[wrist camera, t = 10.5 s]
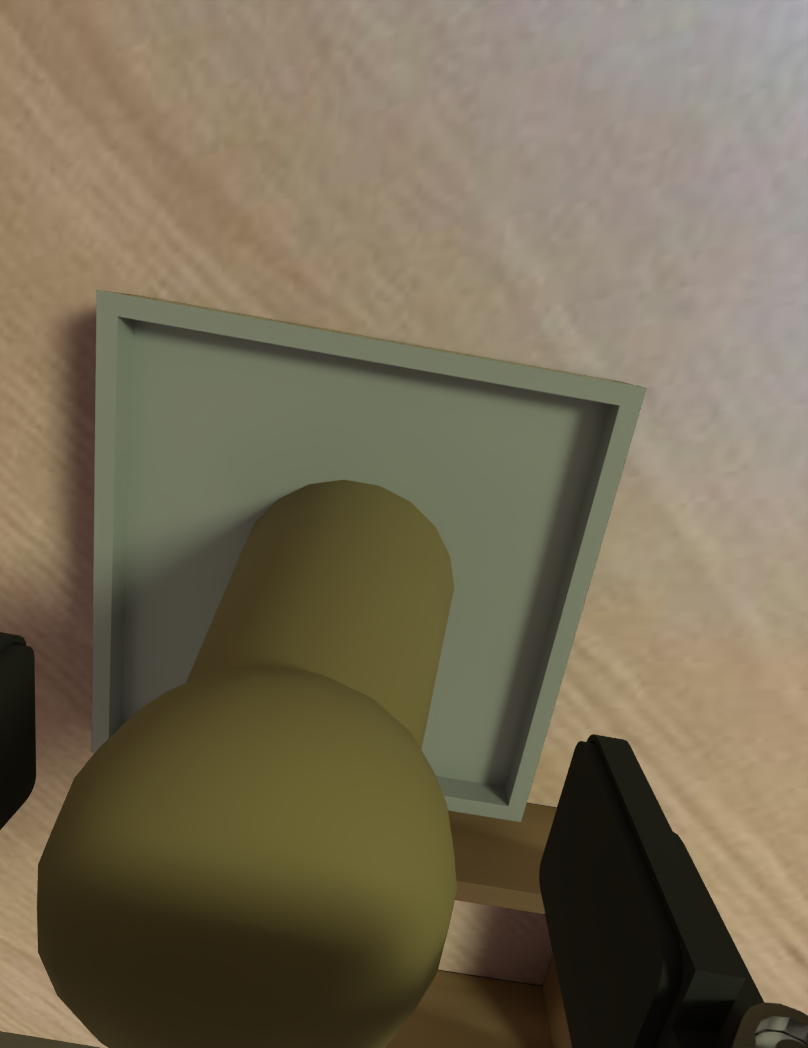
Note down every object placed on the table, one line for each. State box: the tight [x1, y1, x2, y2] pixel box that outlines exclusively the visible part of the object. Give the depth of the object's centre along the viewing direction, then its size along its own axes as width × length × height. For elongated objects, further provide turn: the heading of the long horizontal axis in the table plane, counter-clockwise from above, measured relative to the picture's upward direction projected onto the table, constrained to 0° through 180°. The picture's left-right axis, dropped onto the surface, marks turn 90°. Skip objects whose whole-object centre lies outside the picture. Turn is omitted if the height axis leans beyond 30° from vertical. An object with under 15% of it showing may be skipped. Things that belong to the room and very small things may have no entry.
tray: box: [92, 290, 646, 822], centre depth 17 cm, size 13×13×2 cm
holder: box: [385, 803, 572, 1048], centre depth 20 cm, size 9×9×4 cm
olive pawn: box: [37, 480, 457, 1048], centre depth 12 cm, size 6×6×11 cm
